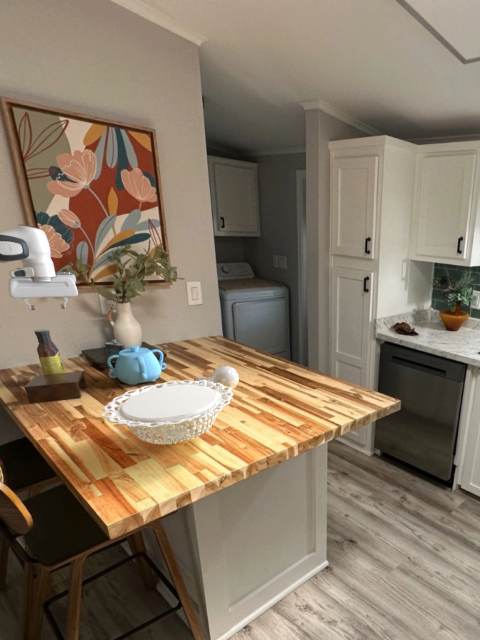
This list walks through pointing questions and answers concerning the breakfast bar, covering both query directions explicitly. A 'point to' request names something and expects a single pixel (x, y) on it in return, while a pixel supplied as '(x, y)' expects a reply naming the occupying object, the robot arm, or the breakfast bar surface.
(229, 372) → the potion bottle
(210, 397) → the white lattice bowl
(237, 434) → the breakfast bar surface
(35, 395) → the shelf
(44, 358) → the sauce bottle
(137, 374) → the decorative pot
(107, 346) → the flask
